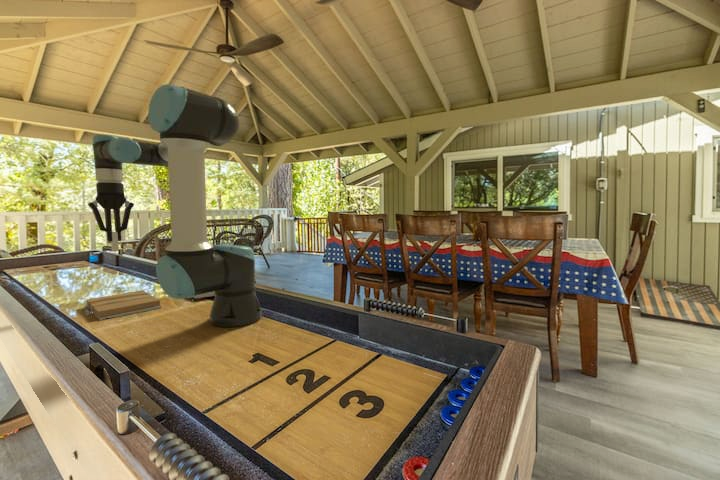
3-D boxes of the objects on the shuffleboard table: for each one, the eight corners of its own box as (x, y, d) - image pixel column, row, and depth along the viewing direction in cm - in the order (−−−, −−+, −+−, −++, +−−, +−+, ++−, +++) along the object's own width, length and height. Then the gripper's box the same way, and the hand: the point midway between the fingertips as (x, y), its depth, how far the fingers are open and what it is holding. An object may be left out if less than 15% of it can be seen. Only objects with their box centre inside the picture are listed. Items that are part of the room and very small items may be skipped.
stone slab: (194, 279, 151) (221, 289, 129) (195, 286, 151) (222, 298, 129) (169, 283, 144) (193, 295, 122) (169, 291, 144) (194, 303, 122)
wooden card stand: (161, 308, 116) (160, 300, 116) (99, 320, 103) (99, 312, 103) (142, 296, 130) (141, 289, 130) (86, 306, 117) (85, 299, 117)
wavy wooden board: (153, 301, 121) (152, 296, 121) (93, 312, 109) (93, 306, 109) (143, 295, 129) (143, 290, 128) (86, 304, 116) (86, 299, 116)
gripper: (129, 183, 123) (133, 248, 125) (83, 181, 113) (89, 251, 116) (135, 182, 118) (140, 249, 120) (88, 180, 108) (94, 253, 111)
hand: (115, 250), depth 118 cm, fingers closed
